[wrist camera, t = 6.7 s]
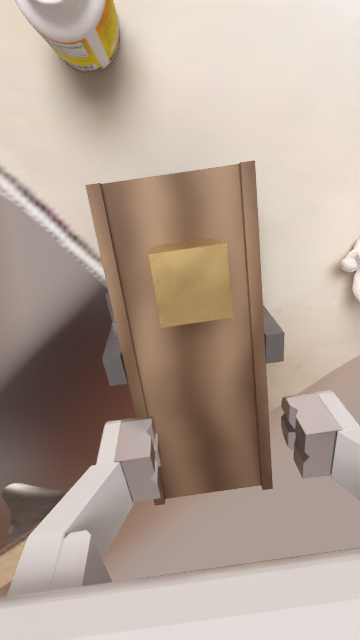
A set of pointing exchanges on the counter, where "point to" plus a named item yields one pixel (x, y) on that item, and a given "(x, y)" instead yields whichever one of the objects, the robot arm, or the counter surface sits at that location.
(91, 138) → the counter surface
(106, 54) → the supplement bottle
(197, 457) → the beam
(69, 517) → the robot arm
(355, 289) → the white seated figurine
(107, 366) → the trestle
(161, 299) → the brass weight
